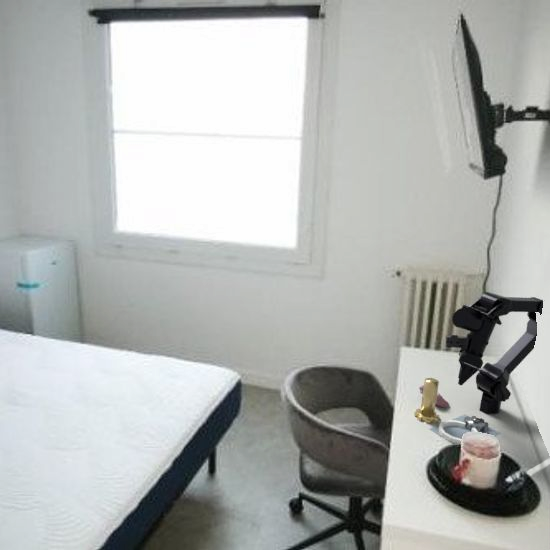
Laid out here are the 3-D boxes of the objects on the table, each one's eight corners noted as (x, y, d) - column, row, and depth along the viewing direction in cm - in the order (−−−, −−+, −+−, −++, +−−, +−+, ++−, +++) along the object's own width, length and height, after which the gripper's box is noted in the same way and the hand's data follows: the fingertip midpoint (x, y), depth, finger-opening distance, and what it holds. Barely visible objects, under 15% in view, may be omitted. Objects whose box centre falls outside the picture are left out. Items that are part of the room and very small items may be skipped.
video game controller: (420, 400, 170) (415, 384, 167) (431, 393, 171) (426, 377, 168) (439, 415, 161) (434, 398, 158) (451, 407, 162) (445, 391, 159)
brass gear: (424, 411, 160) (430, 373, 156) (443, 422, 154) (449, 383, 151) (409, 417, 156) (414, 378, 152) (427, 428, 150) (433, 388, 147)
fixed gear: (472, 418, 155) (473, 411, 154) (492, 428, 150) (493, 421, 149) (458, 424, 151) (459, 416, 151) (478, 435, 146) (479, 427, 145)
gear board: (464, 417, 157) (465, 410, 157) (499, 436, 148) (501, 429, 147) (428, 432, 148) (429, 425, 147) (463, 453, 138) (465, 446, 138)
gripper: (453, 320, 162) (435, 365, 164) (452, 326, 145) (432, 376, 147) (489, 334, 159) (469, 380, 161) (492, 342, 141) (470, 392, 143)
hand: (459, 381), depth 153 cm, fingers open, 9 cm apart
